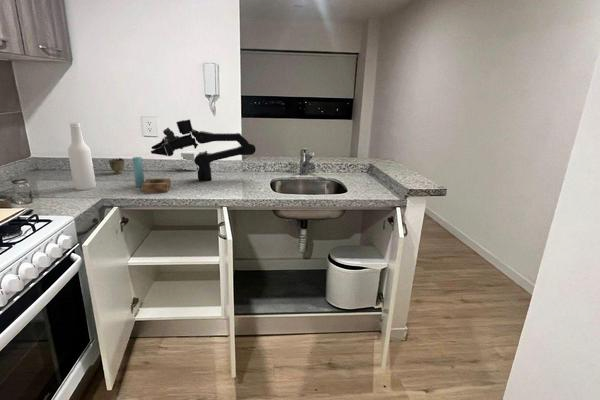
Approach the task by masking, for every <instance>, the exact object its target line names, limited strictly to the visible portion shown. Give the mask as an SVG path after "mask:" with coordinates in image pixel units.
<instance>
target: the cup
mask: <svg viewBox="0 0 600 400" xmlns="http://www.w3.org/2000/svg"><path fill="white" fill-rule="evenodd" d="M108 163H109V167H110V169H111V170H112V171H113V172H114V174H116V175H119V174H120V173H121V174H122V172H123V170H124V167H125V166H124V165H125V159H124V158H119V157H117V158H110V159H108Z"/></svg>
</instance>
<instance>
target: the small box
mask: <svg viewBox="0 0 600 400" xmlns="http://www.w3.org/2000/svg"><path fill="white" fill-rule="evenodd" d="M180 157H183V159H186V160H192V161H194V160H195V153H182V152H180Z"/></svg>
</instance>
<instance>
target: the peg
mask: <svg viewBox="0 0 600 400" xmlns="http://www.w3.org/2000/svg"><path fill="white" fill-rule="evenodd" d="M132 163H133V164H132V165H133V174H134V182H135V187H136V188H142V184H143V183H144V182H145V173H144V167H143V164H144V163H143V157H141V156H134V157H132Z"/></svg>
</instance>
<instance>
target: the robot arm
mask: <svg viewBox="0 0 600 400" xmlns="http://www.w3.org/2000/svg"><path fill="white" fill-rule="evenodd" d="M176 126H177V128H178V132H179V134H182V136H179V135H175V133H174V131H173V130H172V129H171V128H170V127H167V128H165V129H164V130H162V131H163V132H162V133H163V134H164V135H165V136H164V137H162V140H161V141H159V143H156V144H154V145H152V146H151V149H152V150H151V151H150V153H151V154H152V155H153V154H154V155H161V156H166V157H172V156H173V155H174V152H175V151H177V150H183V149H184V148H188V147H193V148H194V149H195V150H196V149H197V147H198V146H199V144H201V145H203V144H207V143H208V144H209V143H212V142H237V143H238V144H239V145H238V146H237V147H233V148H230V149H226V150H225V149H224V150H221V151H216V152H212V153H211V152H209V153H208V151H207V150H205V151H202V152H201V151H200V152H198V154H197V155H196V157H195V160H194V162H195V164H196V165H197V166H198V167H199V169H198V170H197V179H198V181H199V182H201V181H202V182H203V181H212V179H213V177H212V176H213V175H212V167H211V163H212V162H214V161H215V162H216V161H219V160H223V159H228V158H232V157H235V156H237V157H238V156H250V155H254V154H255V153H256V151H257V149H256V146H255V144H253V143H252V142H250V141H248V140H247V139H246V138H245V137H243V136H242V134H241V133H240V132H236V133H228V132H227V133H222V132H221V133H220V132H219V133H216V132H215V133H214V132H209V131H204V130H200V131H199V130H197V129H194V128H193V126H192V122H191V119H185V120H184V119H182V120H179V121H176Z"/></svg>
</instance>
